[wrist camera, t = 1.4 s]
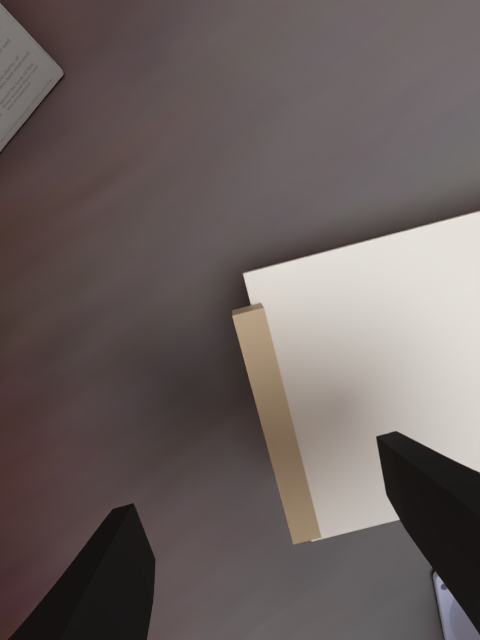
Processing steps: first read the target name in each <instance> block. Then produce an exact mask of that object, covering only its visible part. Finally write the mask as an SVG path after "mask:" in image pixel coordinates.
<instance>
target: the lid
mask: <svg viewBox="0 0 480 640" xmlns="http://www.w3.org/2000/svg"><path fill="white" fill-rule="evenodd" d="M243 277H244V281H245V285H246V289H247V292H248V296H249V300H250V304H251V306H247V307H243V308H239V309H235V310H232V317H233V321H234V324H235V328H236V332H237V336H238V339H239V343H240V347H241V350H242V354H243V358H244V362H245V365H246V369H247V373H248V377H249V380H250V384H251V388H252V392H253V395H254V399H255V403H256V407H257V410H258V414H259V418H260V421H261V425H262V429H263V433H264V436H265V440H266V444H267V448H268V451H269V455H270V459H271V463H272V466H273V470H274V474H275V478H276V481H277V485H278V489H279V492H280V496H281V500H282V504H283V507H284V511H285V515H286V519H287V522H288V526H289V530H290V534H291V537H292V541H293V545H294V544H298V543H302V542H306V541H310V540H311V541H316V540H320V539H324V538H328V537H332V536H336V535H340V534H344V533H348V532H352V531H356V530H360V529H364V528H368V527H372V526H376V525H380V524H384V523H388V522H392V521H396V520H400V519H399V517H398V515H397V514H396V512H395V510H394V508H393V506H392V504H391V503H390V501H389V499H388V497H387V495H386V491H385V485H384V479H383V474H382V468H381V463H380V457H379V451H378V446H377V440H376V436H379V435H383V434H387V433H390V432H394V431H397V432H399V433H401V434H403V435H405V436H407V437H409V438H411V439H413V440H415V441H417V442H419V443H421V444H423V445H425V446H427V447H429V448H431V449H432V450H434V451H436V452H438V453H440V454H442V455H444V456H446V457H448V458H450V459H452V460H454V461H456V462H458V463H460V464H463V465H465V466H467V467H469V468H471V469H473V470H475V471H478V472H480V211H476V212H472V213H469V214H465V215H461V216H457V217H453V218H450V219H446V220H442V221H438V222H434V223H431V224H427V225H423V226H419V227H415V228H412V229H408V230H404V231H400V232H396V233H393V234H389V235H385V236H381V237H377V238H374V239H370V240H366V241H362V242H358V243H355V244H351V245H347V246H343V247H339V248H336V249H332V250H328V251H324V252H320V253H317V254H313V255H309V256H305V257H301V258H298V259H294V260H290V261H286V262H282V263H279V264H275V265H271V266H267V267H263V268H260V269H256V270H252V271H248V272H244V273H243Z"/></svg>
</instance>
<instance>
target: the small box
mask: <svg viewBox="0 0 480 640" xmlns="http://www.w3.org/2000/svg"><path fill="white" fill-rule="evenodd" d="M63 74H64V73H63V71H62V69H61V68H60V67H59V66H58V65H57V63H56V62H55V61H54V60H53V59H52V58H51V57H50V56H49V55H48V54H47V53H46V52H45V51H44V50H43V49H42V47H41V46H40V45H39V44H38V43H37V42H36V41H35V40H34V39H33V38H32V37H31V36H30V35H29V34H28V32H27V31H26V30H25V29H24V28H23V27H22V26H21V25H20V24H19V23H18V22H17V21H16V20H15V19H14V17H13V16H12V15H11V14H10V13H9V12H8V11H7V10H6V9H5V8H4V7H3V6H2V5H1V4H0V152H1V150H2V149H3V148H4V147H5V145H6V144H7V143H8V142H9V140H10V139H11V138H12V137H13V136H14V134H15V133H16V132H17V131H18V130H19V128H20V127H21V126H22V125H23V124H24V122H25V121H26V120H27V119H28V117H29V116H30V115H31V114H32V112H33V111H34V110H35V109H36V108H37V106H38V105H39V104H40V103H41V101H42V100H43V99H44V98H45V96H46V95H47V94H48V93H49V92H50V90H51V89H52V88H53V87H54V86H55V84H56V83H57V82H58V81H59V80H60V78H61V77H62V76H63Z"/></svg>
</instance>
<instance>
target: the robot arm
mask: <svg viewBox="0 0 480 640" xmlns="http://www.w3.org/2000/svg"><path fill="white" fill-rule="evenodd" d="M376 440H377V446H378V451H379V457H380V463H381V468H382V474H383V479H384V485H385V491H386V495H387V497H388V499H389V501H390V503H391V504H392V506H393V508H394V510H395V512H396V514H397V515H398V517H399V519H400V521H401V522H402V524H403V526H404V528H405V529H406V531H407V532H408V534H409V535H410V536H411V538H412V539H413V541H414V542H415V544H416V545H417V546H418V548H419V549H420V551H421V552H422V553H423V555H424V556H425V558H426V559H427V560H428V562H429V563H430V565H431V566H432V567H433V569H434V570H435V572H434V574H433V580H434V586H435V591H436V596H437V602H438V607H439V612H440V618H441V623H442V628H443V634H444V639H445V640H480V472H478V471H475V470H473V469H471V468H469V467H467V466H465V465H463V464H460V463H458V462H456V461H454V460H452V459H450V458H448V457H446V456H444V455H442V454H440V453H438V452H436V451H434V450H432V449H431V448H429V447H427V446H425V445H423V444H421V443H419V442H417V441H415V440H413V439H411V438H409V437H407V436H405V435H403V434H401V433H399V432H397V431H394V432H390V433H387V434H383V435H379V436H376ZM154 580H155V557H154V555H153V552H152V549H151V547H150V544H149V542H148V539H147V536H146V534H145V531H144V529H143V526H142V523H141V521H140V518H139V516H138V513H137V511H136V508H135V505H134V503H133V504H129V505H126V506H122V507H119V508H115V509H113V510H112V511H111V512H110V513H109V514H108V516H107V517H106V518H105V520H104V521H103V522H102V523H101V525H100V526H99V527H98V529H97V530H96V531H95V533H94V534H93V535H92V537H91V538H90V539H89V541H88V542H87V543H86V545H85V546H84V547H83V549H82V550H81V551H80V553H79V554H78V555H77V557H76V558H75V559H74V561H73V562H72V563H71V564H70V566H69V567H68V568H67V570H66V571H65V572H64V574H63V575H62V576H61V577H60V579H59V580H58V581H57V582H56V584H55V585H54V586H53V587H52V588H51V590H50V591H49V592H48V593H47V595H46V596H45V597H44V598H43V599H42V601H41V602H40V603H39V604H38V606H37V607H36V608H35V609H34V610H33V612H32V613H31V614H30V615H29V617H28V618H27V619H26V620H25V621H24V622H23V623H22V625H21V626H20V627H19V628H18V629H17V630H16V631H15V633H14V634H13V635H12V636H11V637H10V638H9V639H8V640H147V635H148V629H149V623H150V617H151V611H152V604H153V595H154Z"/></svg>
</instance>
